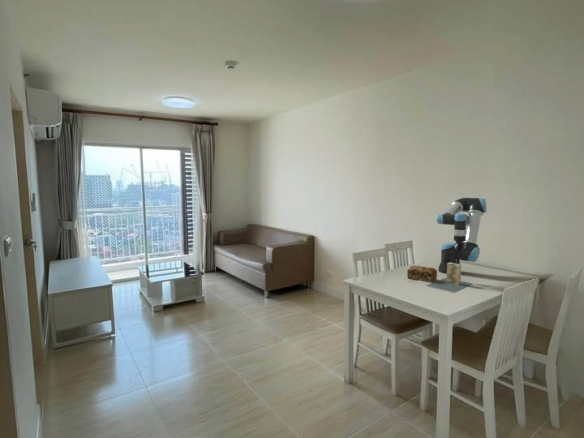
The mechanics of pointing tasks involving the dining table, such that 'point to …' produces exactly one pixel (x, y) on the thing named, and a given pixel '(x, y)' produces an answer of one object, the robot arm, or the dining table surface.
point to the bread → (422, 273)
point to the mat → (449, 285)
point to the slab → (454, 273)
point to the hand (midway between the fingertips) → (458, 267)
